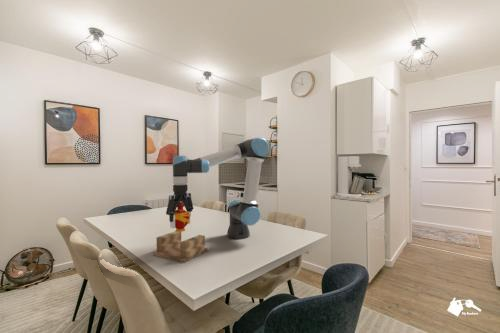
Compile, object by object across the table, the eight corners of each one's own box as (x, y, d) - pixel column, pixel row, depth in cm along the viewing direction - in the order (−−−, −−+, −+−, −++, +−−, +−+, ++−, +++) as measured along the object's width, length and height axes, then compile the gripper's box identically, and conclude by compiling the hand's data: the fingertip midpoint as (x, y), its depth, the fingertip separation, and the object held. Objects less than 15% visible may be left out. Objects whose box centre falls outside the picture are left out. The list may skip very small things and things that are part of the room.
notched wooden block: (178, 244, 141) (178, 230, 141) (207, 250, 130) (207, 235, 130) (153, 254, 125) (153, 238, 125) (183, 262, 114) (183, 244, 114)
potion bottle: (166, 232, 125) (166, 203, 125) (178, 227, 134) (178, 201, 134) (182, 234, 121) (182, 204, 121) (194, 229, 130) (194, 201, 130)
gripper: (190, 182, 139) (190, 220, 139) (158, 185, 119) (158, 229, 119) (199, 183, 136) (200, 221, 136) (168, 186, 116) (168, 231, 116)
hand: (180, 225), depth 128 cm, fingers closed on potion bottle, 10 cm apart
